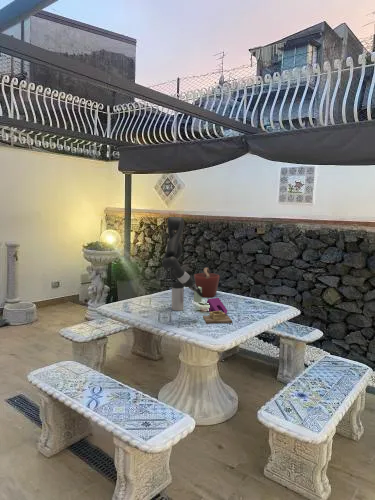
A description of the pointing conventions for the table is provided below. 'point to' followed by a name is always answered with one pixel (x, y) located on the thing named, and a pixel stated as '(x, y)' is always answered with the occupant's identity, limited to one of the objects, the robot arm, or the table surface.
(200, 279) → the bucket
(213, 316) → the cup bracket
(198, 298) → the rail post
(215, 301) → the mounting bracket
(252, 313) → the table surface
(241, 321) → the table surface
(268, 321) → the table surface
